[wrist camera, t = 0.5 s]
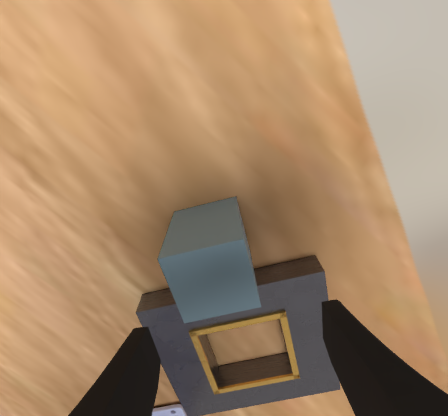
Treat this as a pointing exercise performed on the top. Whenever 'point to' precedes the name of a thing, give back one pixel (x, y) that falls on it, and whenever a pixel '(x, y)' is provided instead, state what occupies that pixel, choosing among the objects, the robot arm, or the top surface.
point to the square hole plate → (252, 369)
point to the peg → (209, 261)
